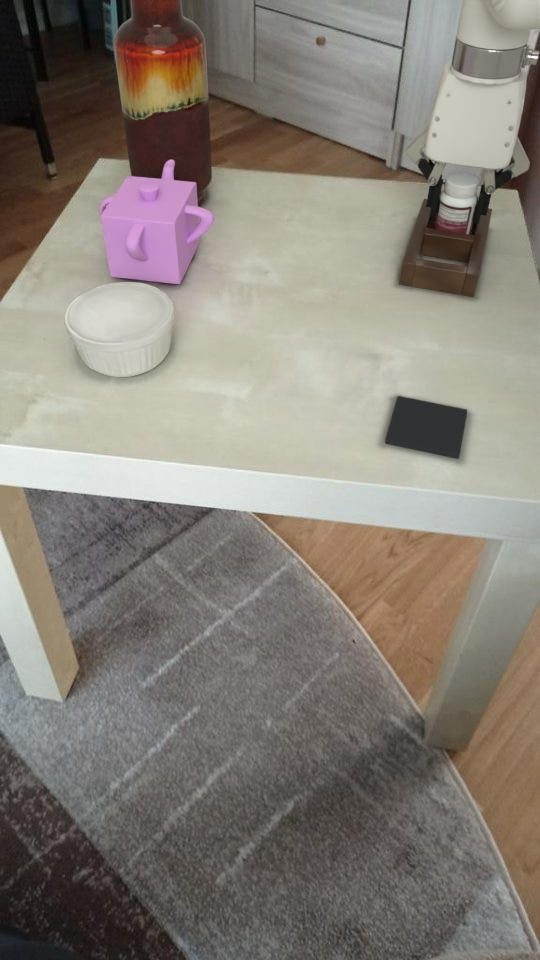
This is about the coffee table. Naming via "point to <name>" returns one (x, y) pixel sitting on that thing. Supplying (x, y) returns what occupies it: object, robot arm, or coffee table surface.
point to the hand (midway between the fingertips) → (455, 214)
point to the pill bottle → (457, 203)
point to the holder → (444, 256)
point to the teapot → (153, 227)
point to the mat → (427, 427)
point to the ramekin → (121, 327)
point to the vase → (164, 93)
